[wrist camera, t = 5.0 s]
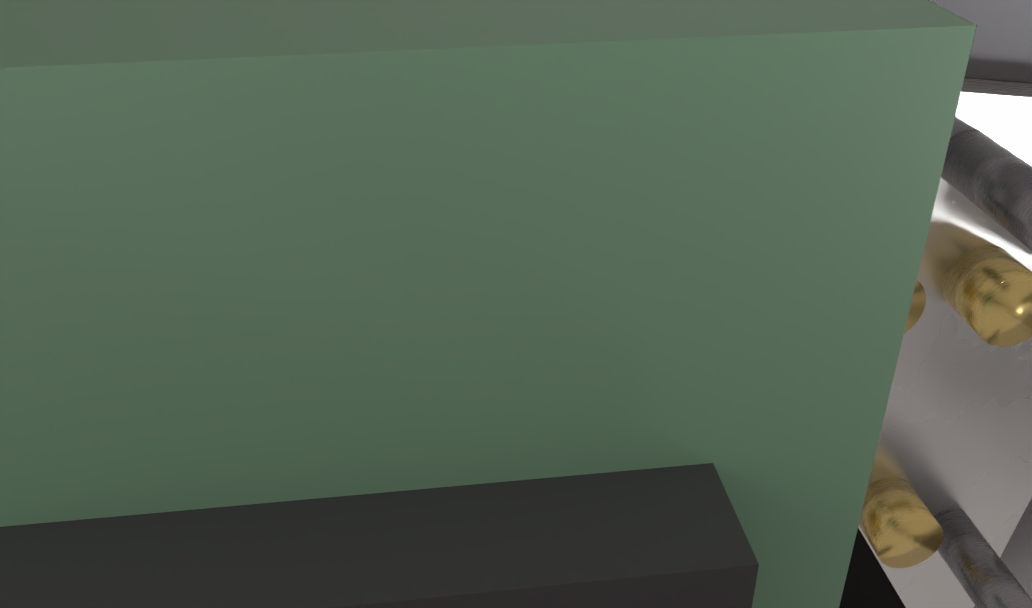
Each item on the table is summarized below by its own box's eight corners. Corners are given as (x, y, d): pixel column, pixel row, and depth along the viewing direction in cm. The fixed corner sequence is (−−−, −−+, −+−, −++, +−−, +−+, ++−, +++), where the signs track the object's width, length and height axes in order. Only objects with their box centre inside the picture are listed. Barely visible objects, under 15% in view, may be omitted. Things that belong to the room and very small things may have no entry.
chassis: (694, 54, 23) (786, 149, 18) (1199, 97, 26) (1395, 190, 21) (574, 591, 32) (613, 748, 27) (954, 582, 35) (1052, 723, 30)
